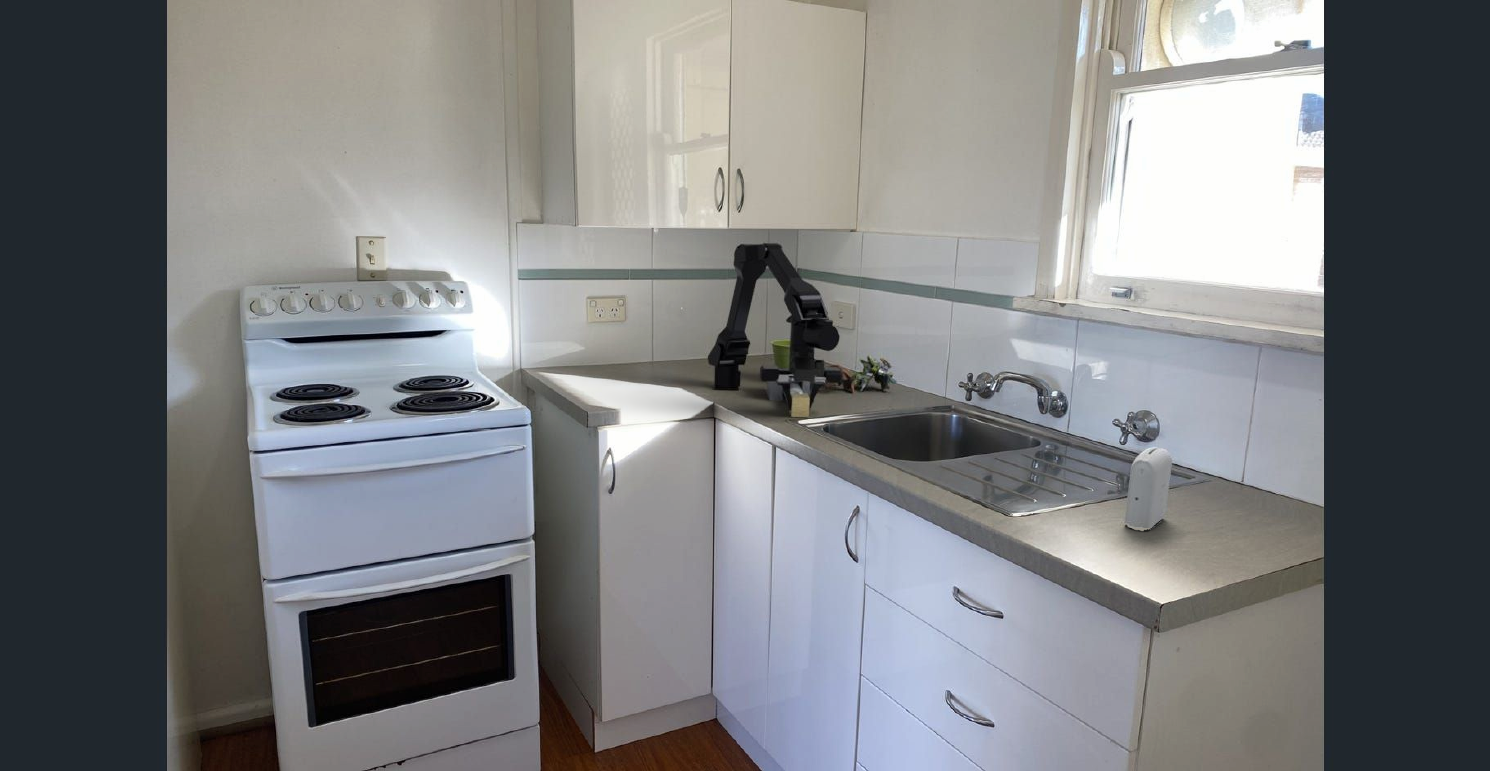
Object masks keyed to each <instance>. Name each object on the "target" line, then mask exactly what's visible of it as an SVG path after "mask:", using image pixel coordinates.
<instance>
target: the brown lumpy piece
mask: <svg viewBox="0 0 1490 771" xmlns="http://www.w3.org/2000/svg"><path fill="white" fill-rule="evenodd" d="M827 367H838V368H839V369H840V371H841V372H842V373H843V380H842V383H829V382H828V381H827V380H825V383H826V386H822V387H821V388H820V389H826V388H830V387H832V386H834V387H841V385H842V387H843V390H844V391H846V390H851V393H852V394H853V393H854V394H855V385H854V381H853V380H852V378H851V377H852V375H851V373H850V372H847V369H844V368H842V366H841V365H840V364H830V365H828V366H827ZM820 389H819V390H818V392H820V391H821V390H820Z"/></svg>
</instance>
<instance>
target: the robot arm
mask: <svg viewBox="0 0 1490 771" xmlns="http://www.w3.org/2000/svg"><path fill="white" fill-rule="evenodd" d="M783 250H784V249H783V246H782V245H781V244H779V243H776V242H763V243H741V244H739V245H737V246H736V247H735V250H734V253H733V257H734V258H733V267H734V269H735V272H736V275H737V276H736V280H735V285H734V290H733V295H732V299H731V303H730V308H729V311H728V312H729V313H728V317H727V321H726V326H725V327H724V328H723V330H722V331H721V332H720V333H719V334H718V335H717V337H716V340H715V343H714V345H713V347H712V349H711V350H710V352H709V354H708V355H707V361H708V365H710V366H713V367H714V372H713V373H714V374H713V375H714V376H713V386H712V387H713V390H733V391H734V390H735V391H739V390H740V387H741V377H742V376H741V375H742V374H741V373H742V372H741V369H739V368H740V367H739V366H745V365H746V360H747V356H748V355H749V350H750V349H749V348H750V346H751V341H750V339H749V338H748V336H747V334H746V327H747V323H748V319H749V315H750V311H751V306H752V303H753V298H754V293H755V290H756V289H755V288H756V284H757V281H758V279H760V278H761V276H762V275H763V274H764V273H765V272H766V270H767V268H768V269H769V271H770V272H771V274H772V275H773V277H774V279H775V280H776V281H777V283H778V284H779V285H780V287H781V289H782V290H783V293H784V295H783V296H784V297H783V302H784V304H785V306H786V308H787V310H788V312H789V313H790V315H789V316H788V317H787V318H786V320H785V321H786V323H789V324H790V334H789V335H790V336H789V340H790V354H789V370H782V369H778V367H777V366H775V365H769V364H768V365H766V364H765V365H764V364H763V365H761V367H760V368H759V378H760V381H762V382H767V381H776V383H777V385H781V386H782V388H783V391H784V393H783V395H784V394H785V395H784V397H786V398H785V400H786V404H787V409H788V411H791V394H790V382H789V380H788V379H789V378H794V380H795V381H797V382H801V381H809V382H810V388H809V397H810V403H809V412H810V411H811V409H812V406H813V403H814V402H815V398H816V397H817V396H816V395H817V393H818V392H819V391H818V390H819V389H822V388H821V387H822V386H826V383H825V380H827V381H828V382H829V383H842V380H843V373H842V372H841V371H840V369H839V368H838V367H828V366H825V360H824V359H815V352H816V350H815V349H817V350H822V351H826V352H830V351H833V350H835V348H837V346H838V345H839V343H840V342H839V341H840V339H841V338H840V336H841V335H840V334H839V331H838V329H837V328H836V326H834V325H833V324H834V321H833V320H832V319H830V318H829V315H828V314H829V312H828V309H826V306H825V303H824V300H823V297H822V295H821V294H822V293H820V291H819V290H818V289H817V288H816V287H815V286H814V285H813V284H811V283H810V282H807V281H805V280H804V279H803V278H802V277H801V276H800V275H799V273H798V272H797V270H796V269H795V267H794V265H793V264H792V263H791V260H790V259H789V258H788V257H787V256H786V254H785V252H784V251H783ZM842 384H843V383H842ZM813 401H814V402H813Z"/></svg>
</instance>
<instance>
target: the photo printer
mask: <svg viewBox="0 0 1490 771" xmlns="http://www.w3.org/2000/svg"><path fill="white" fill-rule="evenodd" d="M1172 465H1173V458H1172V455H1171V453H1170V452H1169V451H1167V450H1166V449H1165V448H1160V447H1157V446H1152V447H1149V448H1146V449H1144V450H1143V451H1142V452H1140V453H1139V454H1138V455H1137V456H1136V457H1135V459H1134V460H1133V462H1132V464H1131V468H1130V475H1129V482H1128V489H1127V490H1128V492H1127V497H1126V498H1127V500H1126V507H1125V516H1124V524H1125V523H1127V524H1129V525H1130V526H1134V527H1143V528H1150V527H1153V526H1154V525H1155V524H1156V523H1157V522H1159V521H1160V520H1161V519H1162V518H1163V517H1164V518H1165V516H1166V512H1167V504H1168V495H1169V490H1170V489H1169V488H1170V481H1171V475H1172V473H1171V472H1172ZM1164 518H1163V519H1164ZM1160 522H1161V521H1160ZM1160 522H1159V523H1160ZM1154 527H1155V526H1154ZM1154 527H1153V528H1154Z"/></svg>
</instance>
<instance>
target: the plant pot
mask: <svg viewBox="0 0 1490 771" xmlns="http://www.w3.org/2000/svg"><path fill="white" fill-rule="evenodd" d="M769 344H770V345H772V352H773V356H774V357H773V358H774V366H777V367H778V368H789V354H790V339H779V340H772V341H770V343H769Z"/></svg>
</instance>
